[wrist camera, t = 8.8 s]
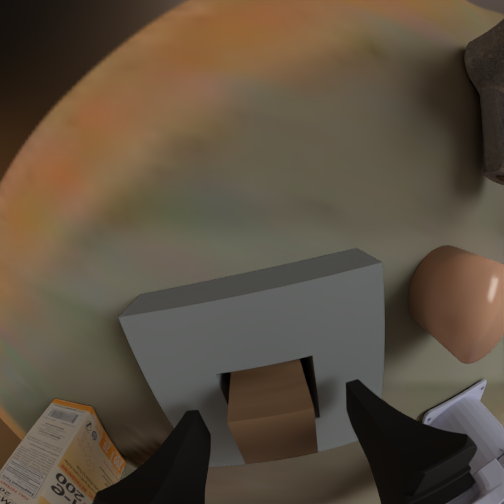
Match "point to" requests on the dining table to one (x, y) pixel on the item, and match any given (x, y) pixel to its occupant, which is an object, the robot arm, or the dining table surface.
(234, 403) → the square peg
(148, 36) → the dining table surface
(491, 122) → the pipe
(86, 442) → the supplement box
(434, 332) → the peach egg-shaped blob
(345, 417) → the block
